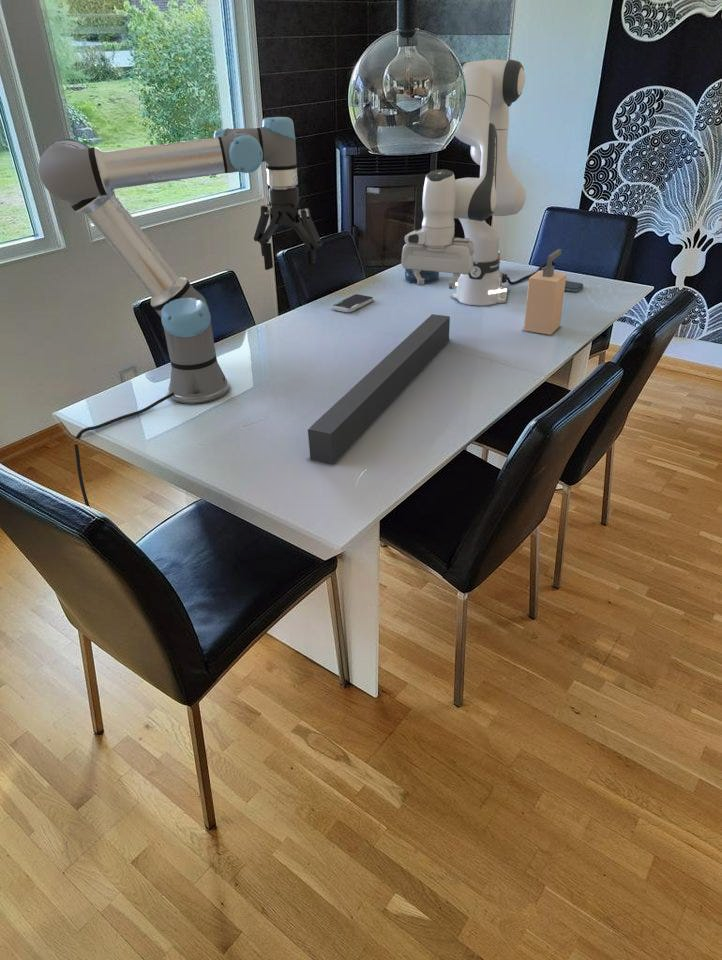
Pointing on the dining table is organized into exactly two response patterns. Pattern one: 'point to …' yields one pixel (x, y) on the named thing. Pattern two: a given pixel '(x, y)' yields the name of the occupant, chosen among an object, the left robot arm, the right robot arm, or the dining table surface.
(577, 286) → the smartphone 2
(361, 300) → the smartphone
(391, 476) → the dining table surface
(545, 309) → the soap dispenser
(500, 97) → the right robot arm
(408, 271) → the canister
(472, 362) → the dining table surface
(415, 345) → the beam
